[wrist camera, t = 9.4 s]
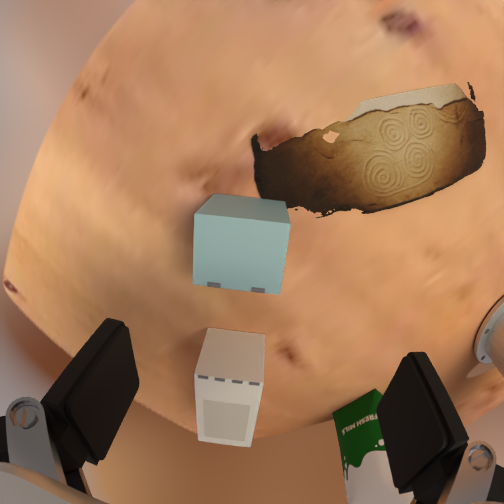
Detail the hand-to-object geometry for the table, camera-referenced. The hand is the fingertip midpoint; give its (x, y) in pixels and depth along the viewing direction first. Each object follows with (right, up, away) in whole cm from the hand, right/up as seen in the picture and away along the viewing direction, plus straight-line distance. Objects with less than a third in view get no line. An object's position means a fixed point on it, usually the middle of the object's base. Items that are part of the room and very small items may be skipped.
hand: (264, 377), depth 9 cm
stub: (-1, +6, +16) cm, 18 cm away
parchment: (+12, +13, +14) cm, 22 cm away
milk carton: (+16, -18, +25) cm, 35 cm away
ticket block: (-3, -10, +23) cm, 25 cm away
